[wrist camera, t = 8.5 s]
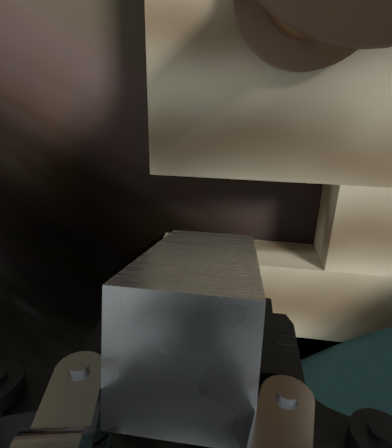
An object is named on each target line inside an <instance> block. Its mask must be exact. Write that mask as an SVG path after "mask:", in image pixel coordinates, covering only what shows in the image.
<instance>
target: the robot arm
mask: <svg viewBox="0 0 392 448" xmlns="http://www.w3.org/2000/svg"><path fill="white" fill-rule="evenodd" d="M265 299H266V306H265V318H264V329H263V341H262V353H261V364H260V376H259V387H258V399H257V411H255V414H254V419H253V423H252V427H251V431H250V435H249V439H248V444H247V448H392V416H391V415H389V414H387V413H385V412H383V411H381V410H377V409H373V408H361V409H358V410H356V411H354V412H353V413H352V415H351V416H347V415H345V414H342V413H340V412H337V411H335V410H333V409H330V408H328V407H326V406H325V405H323V404H322V403H320V402H319V401H318V400H316V399H315V398H314V395H313V393H312V391H311V390H310V389H309V388H308V386H307V385H306V384H305V380H304V374H303V369H302V364H301V359H300V354H299V349H298V344H297V339H296V333H295V328H294V324H293V323H292V321H291V320H290V319H289V318H288V316H287V315H286V314H279V313H273V310H272V301H271V298H265ZM101 342H102V319H101V320H100V322H99V324H98V325H97V326H96V328H95V329H94V331H93V333H92V334H91V336H90V337H89V339H88V340H87V342H86V343H85V345H84V347H83V348H82V350H81V351H80V352H76V353H73V354H70V355H68V356H67V357H65V358H64V359H62V360H61V361H60V362H59V363H58V364H57V366H56V367H55V369H54V370H51V371H45V372H38V373H31V374H25V372H24V368H23V366H22V365H21V364H20V363H19V362H17V361H13V360H3V361H0V448H109V447H110V441H111V435H112V432H106V431H100V406H101Z"/></svg>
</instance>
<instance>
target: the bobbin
mask: <svg viewBox="0 0 392 448" xmlns="http://www.w3.org/2000/svg"><path fill="white" fill-rule="evenodd" d="M233 1H234V9H235V14H236V19H237V23H238V26H239V28H240V31H241V34H242V35H243V37H244V39H245V41H246V43H247V44H248V46H249V47H250V48H251V50H252V51H253V52H254V53H255V54H256V55H257V56H258V57H259V58H261V59H262V60H263V61H265V62H266V63H268V64H270V65H271V66H273V67H276V68H279V69H281V70H285V71H290V72H309V71H314V70H319V69H322V68H325V67H328V66H331V65H334V64H336V63H338V62H340V61H342V60H344V59H345V58H347V57H349V56H350V55H352V54H353V53H354V52H355V51H357V50H358V49H378V48H389V47H392V0H233Z"/></svg>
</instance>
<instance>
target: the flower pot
mask: <svg viewBox="0 0 392 448" xmlns="http://www.w3.org/2000/svg"><path fill="white" fill-rule="evenodd" d="M301 364H302V369H303V374H304V380H305V384H306V385H307V386H308V388H309V389H310V390H311V391H312V393H313V395H314V398H315V399H316V400H318V401H319V402H320V403H322V404H323V405H325V406H326V407H328V408H330V409H333V410H335V411H337V412H340V413H342V414H345V415H347V416H351V415H352V413H353V412H354V411H356V410H358V409H361V408H373V409H377V410H381V411H383V412H385V413H387V414H389V415H391V416H392V327H390V328H386V329H382V330H379V331H375V332H372V333H368V334H365V335H362V336H359V337H356V338H353V339H351V340H348V341H345V342H342V343H340V344H337V345H334V346H332V347H329V348H327V349H325V350H322V351H320V352H317V353H315V354H313V355H310V356H308V357H306V358H304V359H302V360H301Z"/></svg>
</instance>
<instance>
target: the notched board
mask: <svg viewBox="0 0 392 448" xmlns="http://www.w3.org/2000/svg"><path fill="white" fill-rule="evenodd" d="M144 2H145V34H146V67H147V99H148V131H149V163H150V175H167V176H185V177H204V178H222V179H240V180H258V181H277V182H295V183H313V184H323V189H322V195H321V201H320V207H319V214H318V220H317V226H316V232H315V238H314V244H306V243H293V242H280V241H267V240H254V243H255V248H256V253H257V258H258V263H259V268H260V273H261V278H262V284H263V289H264V294H265V298H271V301H272V310H273V313H279V314H286V315H287V316H288V318H289V319H290V320H291V321H292V323H293V324H294V328H295V333H296V337H300V338H309V339H318V340H327V341H336V342H345V341H348V340H351V339H353V338H356V337H359V336H362V335H365V334H368V333H372V332H375V331H379V330H382V329H386V328H390V327H392V47H389V48H378V49H358V50H357V51H355V52H354V53H353V54H352V55H350V56H349V57H347V58H345V59H344V60H342V61H340V62H338V63H336V64H334V65H331V66H328V67H325V68H322V69H319V70H314V71H309V72H290V71H285V70H281V69H279V68H276V67H273V66H271V65H270V64H268V63H266V62H265V61H263V60H262V59H261V58H259V57H258V56H257V55H256V54H255V53H254V52H253V51H252V50H251V48H250V47H249V46H248V44H247V43H246V41H245V39H244V37H243V35H242V34H241V31H240V28H239V26H238V23H237V19H236V14H235V9H234V1H233V0H144ZM168 234H170V233H166V234H165V235H164V237H166V236H167V235H168ZM164 237H163V238H164Z"/></svg>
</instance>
